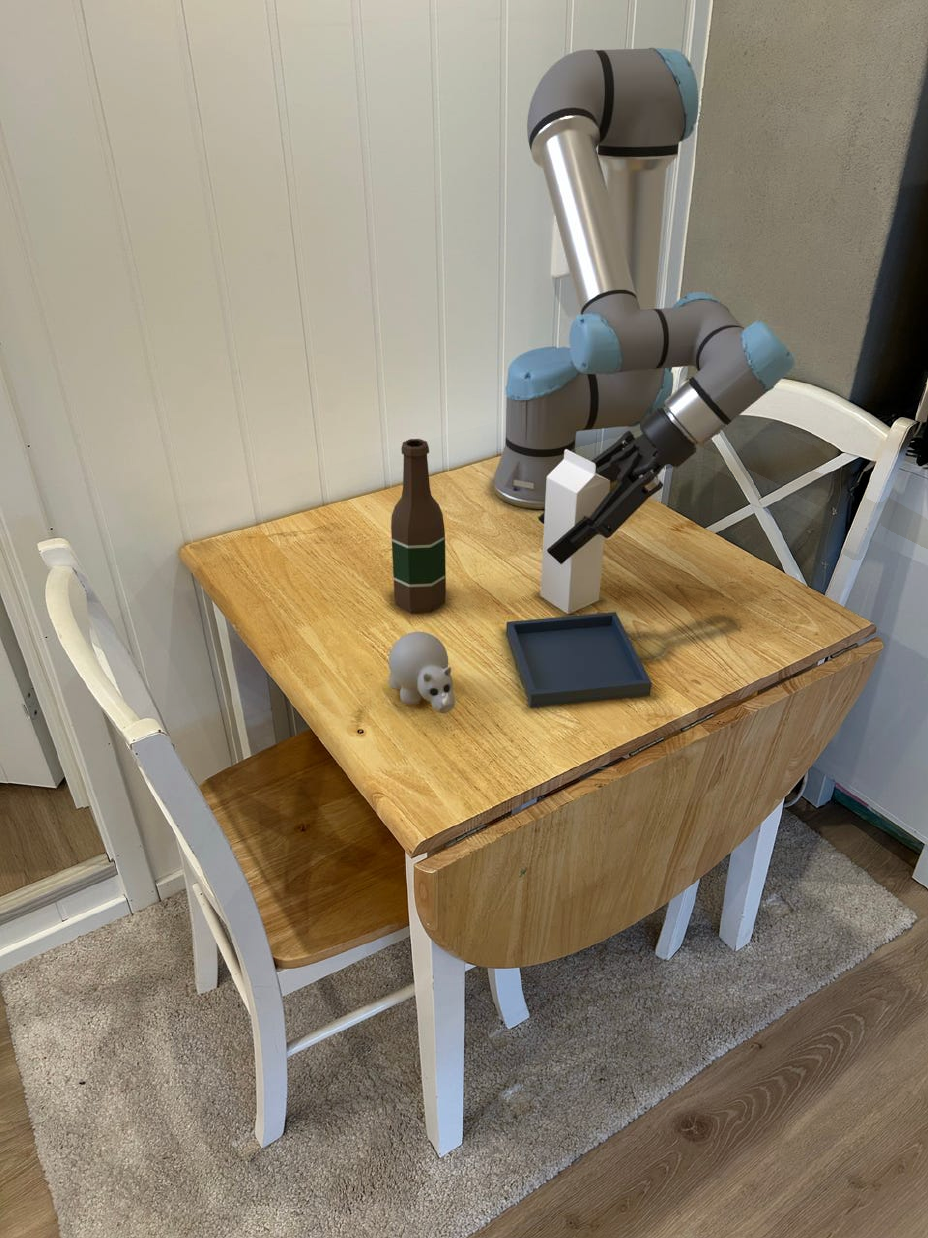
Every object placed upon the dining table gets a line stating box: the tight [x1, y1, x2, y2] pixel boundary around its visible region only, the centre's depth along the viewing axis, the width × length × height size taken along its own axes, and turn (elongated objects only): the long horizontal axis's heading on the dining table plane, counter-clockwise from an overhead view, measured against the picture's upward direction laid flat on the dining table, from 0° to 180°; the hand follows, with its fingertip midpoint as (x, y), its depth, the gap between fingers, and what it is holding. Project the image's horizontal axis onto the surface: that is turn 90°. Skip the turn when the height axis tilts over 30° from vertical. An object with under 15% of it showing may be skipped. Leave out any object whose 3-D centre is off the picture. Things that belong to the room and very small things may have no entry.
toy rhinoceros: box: [388, 631, 456, 714], centre depth 114 cm, size 7×12×8 cm, turn 25°
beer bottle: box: [390, 438, 447, 614], centre depth 129 cm, size 8×8×24 cm
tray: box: [505, 611, 653, 709], centre depth 123 cm, size 16×15×2 cm
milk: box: [539, 449, 611, 615], centre depth 130 cm, size 6×6×22 cm
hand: (549, 540), depth 130 cm, fingers closed on milk, 8 cm apart
